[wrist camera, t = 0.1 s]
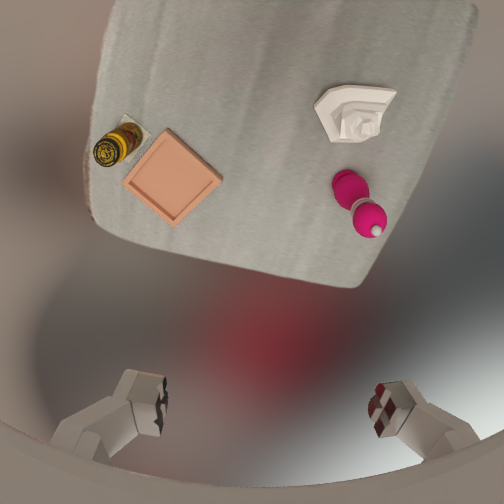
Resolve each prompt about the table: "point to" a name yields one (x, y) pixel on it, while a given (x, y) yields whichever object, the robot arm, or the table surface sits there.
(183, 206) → the tray
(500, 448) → the robot arm
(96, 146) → the condiment
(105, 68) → the table surface
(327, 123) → the white stepped rock sculpture
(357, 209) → the pepper mill
